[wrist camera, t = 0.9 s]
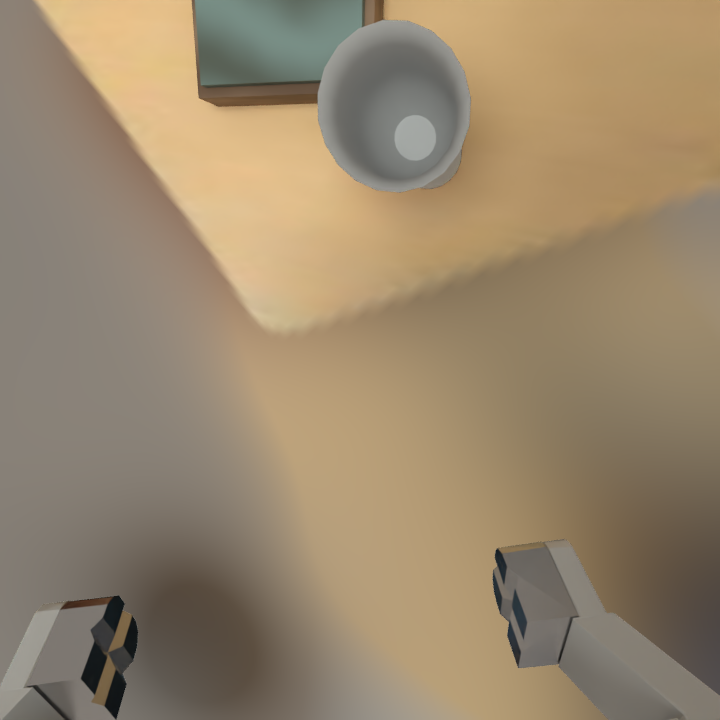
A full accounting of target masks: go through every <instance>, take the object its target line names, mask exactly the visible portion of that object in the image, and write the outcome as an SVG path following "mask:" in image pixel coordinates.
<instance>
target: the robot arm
mask: <svg viewBox="0 0 720 720" xmlns="http://www.w3.org/2000/svg"><path fill="white" fill-rule="evenodd" d="M495 560H496V563H497V567H496V568H495V569H494V570H493V587H494V594H495V598H496V602H497V605H498V608H499V611H500V614H501V615H502V616H503V617H504V618H505V619H506V620H507V621H509V627H508V634H507V636H508V639H509V642H510V645H511V648H512V651H513V654H514V657H515V660H516V663H517V666H518V668H526V667H536V666H545V665H556V664H559V668H560V669H561V670H562V671H563V672H564V673H565V674H566V675H567V676H568V677H569V678H570V679H571V680H572V681H573V682H574V683H575V685H576V686H577V687H578V688H579V689H580V690H581V691H582V692H583V693H584V694H585V695H586V696H587V697H588V698H589V700H591V702H592V703H593V704H594V705H595V706H596V707H597V708H598V709H599V710H600V711H601V712H602V713H603V714H604V716H605V717H606V718H607V719H608V720H720V696H719V695H718V694H716V693H715V692H714V691H713V690H711V689H710V688H709V687H707V686H706V685H705V684H704V683H703V682H701V681H700V680H699V679H698V678H696V677H695V676H694V675H692V674H691V673H690V672H689V671H687V670H686V669H685V668H684V667H682V666H681V665H680V664H678V663H677V662H676V661H675V660H673V659H672V658H671V657H669V656H668V655H667V654H666V653H664V652H663V651H662V650H661V649H659V648H658V647H657V646H656V645H654V644H653V643H652V642H650V641H649V640H648V639H647V638H645V637H644V636H643V635H641V634H640V633H639V632H638V631H636V630H635V629H634V628H633V627H631V626H630V625H629V624H628V623H626V622H625V621H624V620H622V619H621V618H619V616H617V615H616V614H615V613H606V611H605V609H604V607H603V605H602V603H601V601H600V599H599V597H598V596H597V594H596V592H595V590H594V588H593V586H592V584H591V582H590V580H589V578H588V576H587V574H586V572H585V570H584V568H583V566H582V564H581V563H580V561H579V559H578V557H577V555H576V553H575V551H574V549H573V547H572V545H571V544H570V543H569V542H568V541H567V540H564V539H562V540H554V541H547V542H536V543H529V544H522V545H515V546H508V547H501V548H497V549H496V552H495ZM124 605H125V603H124V602H123V600H122V599H121V598H120V596H119V595H117V596H110V597H101V598H94V599H84V600H76V601H64V602H57V603H49V604H43V605H42V606H41V607H40V608H39V610H38V611H37V612H36V613H35V615H34V617H33V619H32V621H31V623H30V625H29V627H28V629H27V631H26V633H25V635H24V637H23V639H22V641H21V643H20V646H19V648H18V650H17V652H16V654H15V656H14V658H13V660H12V662H11V664H10V666H9V668H8V670H7V672H6V675H5V677H4V679H3V681H2V683H1V685H0V720H116V719H117V716H118V712H119V709H120V706H121V702H122V699H123V695H124V692H125V688H126V685H127V683H126V681H125V678H124V676H123V672H124V671H125V670H126V669H127V668H128V667H129V665H130V664H131V663H132V662H133V660H134V656H135V653H136V649H137V643H138V628H137V623H136V620H135V619H134V617H133V615H131V614H128V613H127V612H125V611H123V608H124Z"/></svg>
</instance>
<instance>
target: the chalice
mask: <svg viewBox="0 0 720 720" xmlns="http://www.w3.org/2000/svg"><path fill="white" fill-rule="evenodd" d="M470 104H471V97H470V93H469V89H468V85H467V80H466V76H465V72H464V70H463V68H462V66H461V65H460V63H459V61H458V60H457V58H456V56H455V54H454V53H453V51H452V49H451V48H450V47H449V46H448V45H447V44H446V43H445V42H444V41H442V40H441V39H440V38H439V37H438V36H437V35H436V34H435V33H434V32H432V31H431V30H429V29H426V28H424V27H422V26H419V25H417V24H414V23H412V22H410V21H398V20H381V21H378V22H376V23H373V24H370V25H367V26H364V27H361V28H359V29H357V30H356V31H355V32H354V33H353V34H351V35H350V36H349V37H348V38H347V39H345V40H344V41H343V42H342V43H340V44H339V45H338V47H337V48H336V50H335V52H334V53H333V55H332V56H331V58H330V60H329V61H328V63H327V64H326V66H325V68H324V71H323V75H322V79H321V83H320V87H319V90H318V121H319V125H320V128H321V131H322V135H323V138H324V141H325V145H326V146H327V148H328V149H329V151H330V153H331V154H332V156H333V157H334V159H335V161H336V162H337V164H338V165H339V166H340V167H341V168H342V169H343V170H344V171H346V172H347V173H348V174H349V175H350V176H351V177H352V178H353V179H354V180H356V181H358V182H360V183H362V184H364V185H366V186H369V187H371V188H373V189H375V190H380V191H390V192H404V191H408V190H412V189H416V188H424V189H433V188H436V187H440V186H442V185H443V184H445V183H446V182H448V181H449V180H450V179H451V178H452V177H453V176H454V174H455V173H456V172H457V169H458V167H459V165H460V162H461V153H462V150H461V147H462V145H463V142H464V139H465V136H466V134H467V131H468V128H469V121H470Z"/></svg>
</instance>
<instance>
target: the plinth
mask: <svg viewBox="0 0 720 720" xmlns="http://www.w3.org/2000/svg"><path fill="white" fill-rule="evenodd" d="M383 1H384V0H192V10H193V24H194V38H195V52H196V66H197V80H198V94H199V98H200V99H202V100H204V101H207V102H209V103H212V104H214V105H216V106H249V105H279V104H308V103H318V90H319V87H320V83H321V79H322V75H323V71H324V68H325V66H326V64H327V63H328V61H329V60H330V58H331V56H332V55H333V53H334V52H335V50H336V48H337V47H338V45H339V44H340V43H342V42H343V41H344V40H345V39H347V38H348V37H349V36H350V35H351V34H353V33H354V32H355V31H356V30H357V29H359V28H361V27H364V26H367V25H370V24H373V23H376V22H378V21H381V20H383Z"/></svg>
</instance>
